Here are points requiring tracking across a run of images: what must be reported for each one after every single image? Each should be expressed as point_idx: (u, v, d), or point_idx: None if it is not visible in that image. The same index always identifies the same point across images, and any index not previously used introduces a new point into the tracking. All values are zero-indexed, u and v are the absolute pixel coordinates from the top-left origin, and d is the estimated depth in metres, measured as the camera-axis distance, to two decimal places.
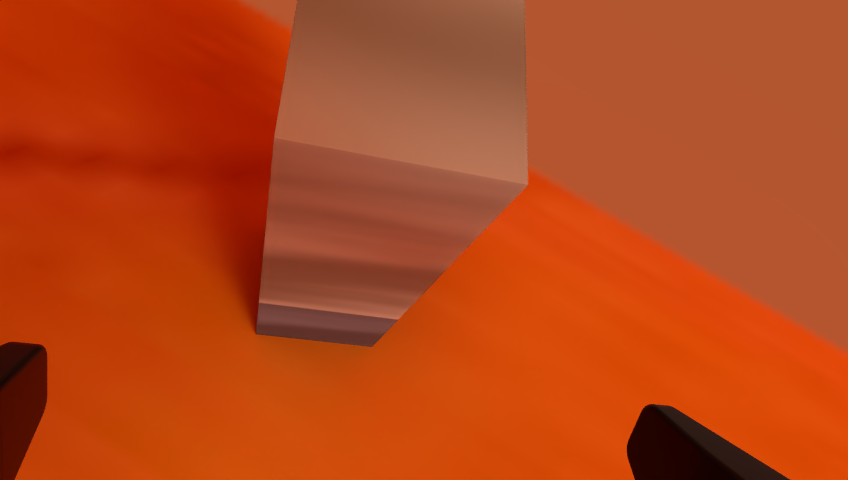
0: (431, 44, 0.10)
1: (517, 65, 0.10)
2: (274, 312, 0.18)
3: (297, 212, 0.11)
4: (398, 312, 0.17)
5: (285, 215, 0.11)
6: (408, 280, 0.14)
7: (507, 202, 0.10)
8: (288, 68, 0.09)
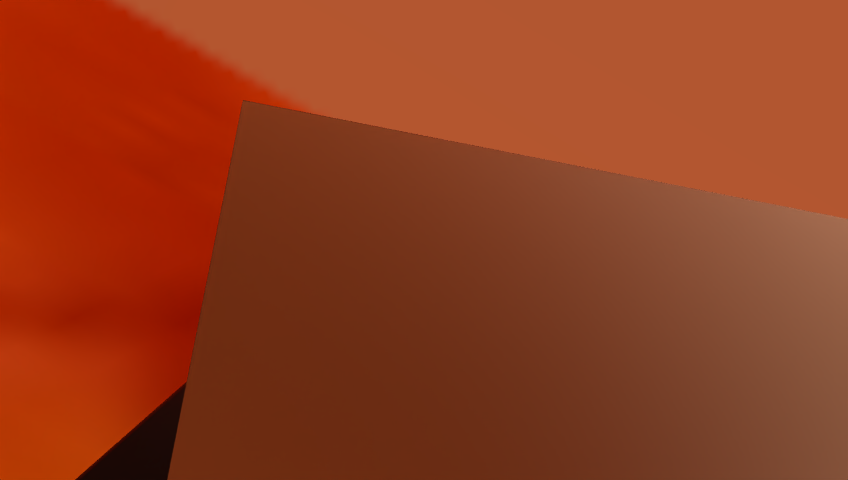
0: None
1: None
2: None
3: None
4: None
5: None
6: None
7: None
8: None
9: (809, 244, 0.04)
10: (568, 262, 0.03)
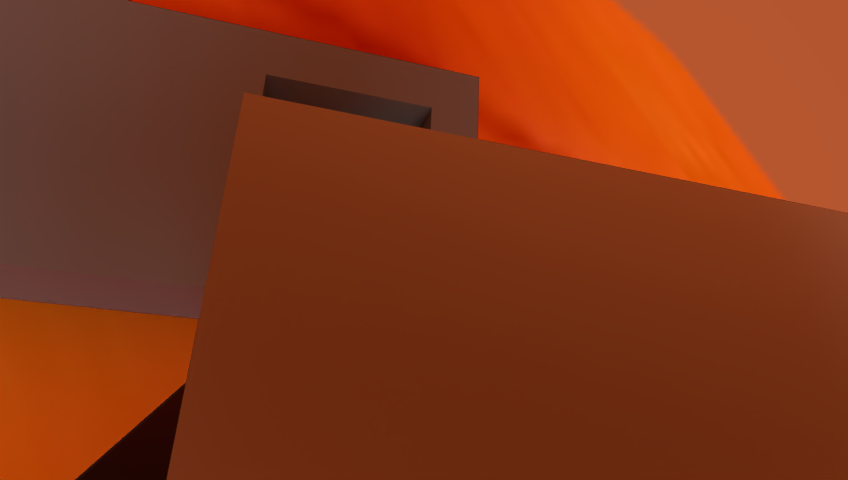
0: (671, 473, 0.03)
1: None
2: None
3: None
4: None
5: None
6: None
7: None
8: None
9: (809, 238, 0.04)
10: (570, 256, 0.03)
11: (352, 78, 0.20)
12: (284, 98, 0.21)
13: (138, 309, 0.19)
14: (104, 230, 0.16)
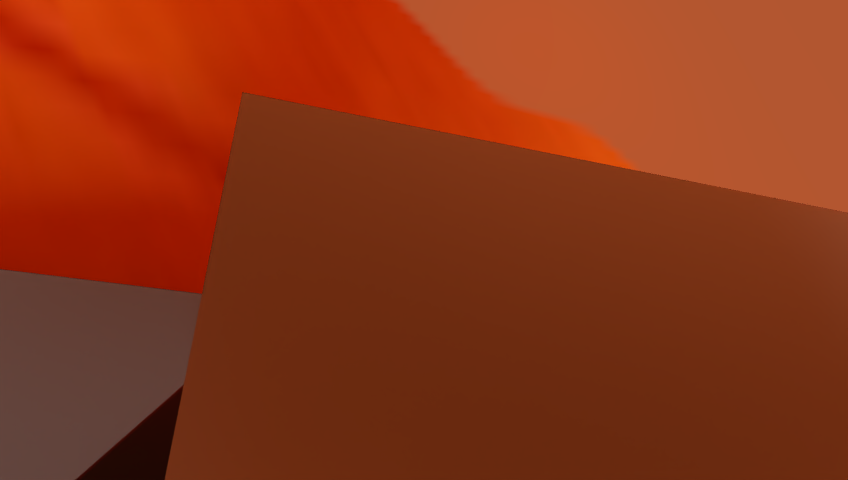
0: (673, 474, 0.03)
1: None
2: None
3: None
4: None
5: None
6: None
7: None
8: None
9: (811, 240, 0.04)
10: (569, 256, 0.03)
11: None
12: None
13: None
14: None
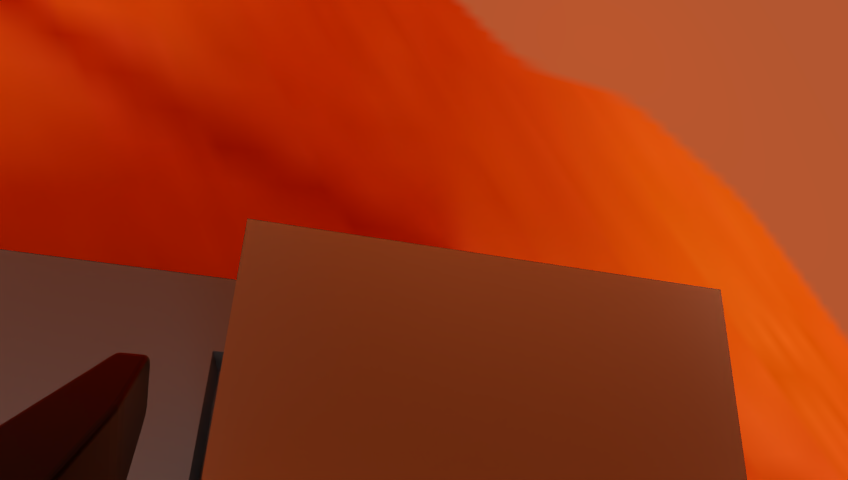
0: None
1: None
2: None
3: None
4: None
5: None
6: None
7: None
8: None
9: (666, 308, 0.05)
10: (478, 329, 0.04)
11: None
12: None
13: None
14: None
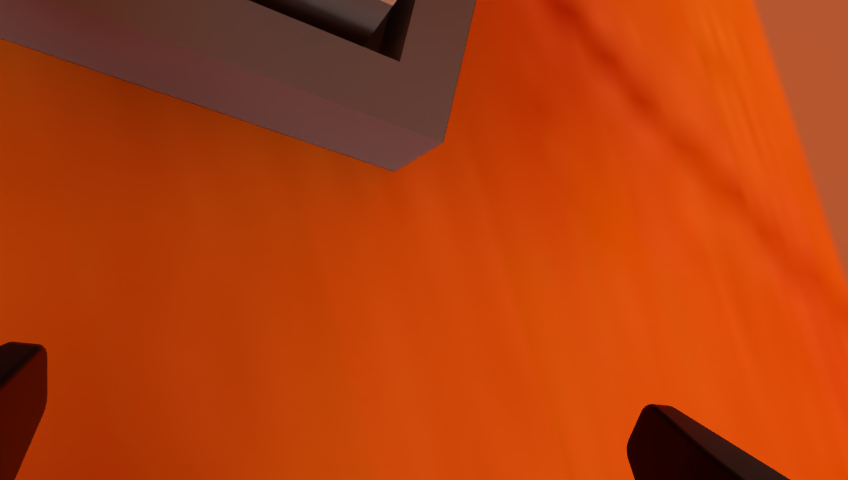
0: None
1: None
2: None
3: None
4: None
5: None
6: None
7: None
8: None
9: None
10: None
11: None
12: None
13: (50, 50, 0.16)
14: None
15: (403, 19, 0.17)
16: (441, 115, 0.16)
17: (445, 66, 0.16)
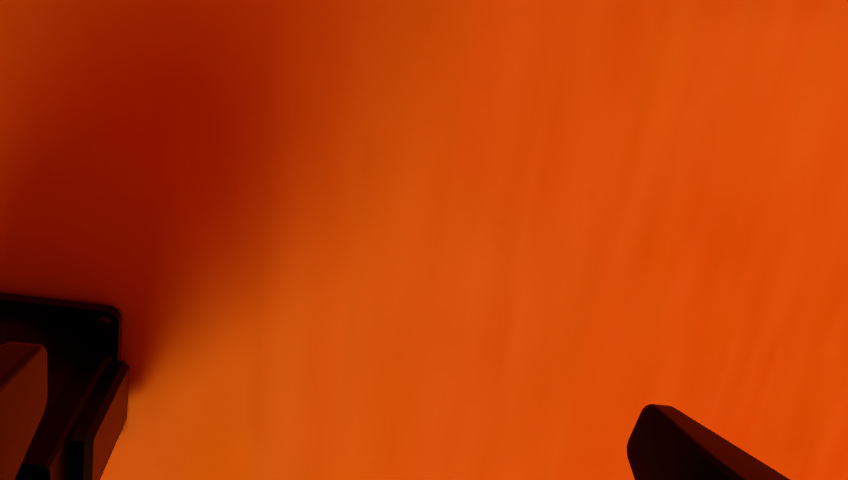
0: None
1: None
2: None
3: None
4: None
5: None
6: None
7: None
8: None
9: None
10: None
11: None
12: None
13: None
14: None
15: None
16: None
17: None
